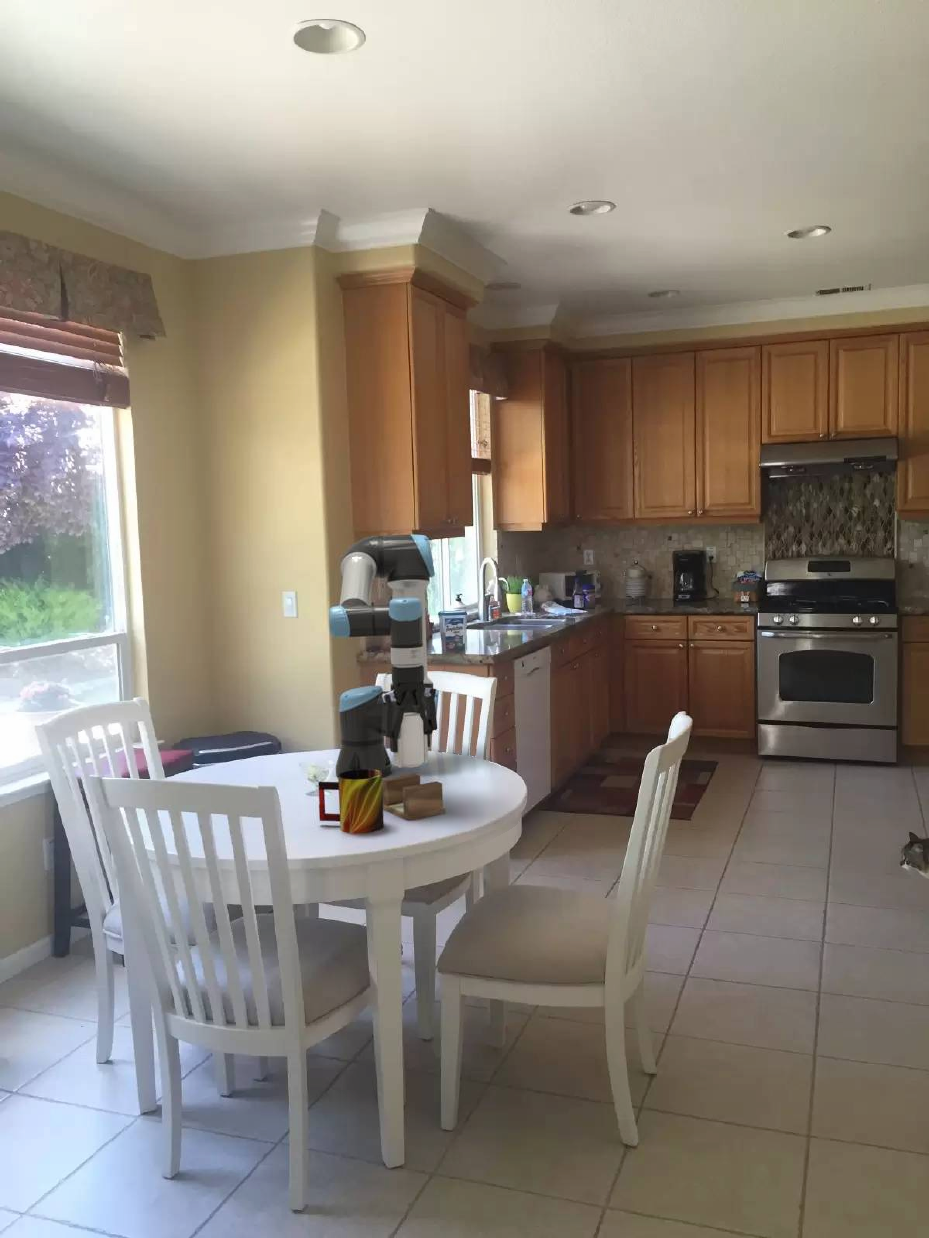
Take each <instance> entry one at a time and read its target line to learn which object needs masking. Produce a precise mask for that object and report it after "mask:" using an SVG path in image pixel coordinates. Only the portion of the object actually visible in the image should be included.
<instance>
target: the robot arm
mask: <svg viewBox="0 0 929 1238" xmlns="http://www.w3.org/2000/svg"><path fill="white" fill-rule="evenodd" d="M435 572H436V571H435V567H434V560H433V554H432V549H431V543H430V540H429V538H428V537H427V535H423V534H412V533H410V534H396V535H395V534H394V535H392V534H391V535H371V536H368V537H364V538H362V539H361V540H359V541H357V542H356V543H354V544H353V545H351V546H350V547H349V548H348V550H346V551H345V553H344V555H343V557H342V559H341V562H340V574H341V577H342V583H341V591H340V599H339V600H340V601H339V605H337V606H332V607H330V608H329V609H328V610H329V611H328V625H329V627H328V628H329V633H330V635H331V636H332V637H333V638H345V639H348V638H365V637H390V663H391V664H392V665H393V666H392V667H391V671H390V672H391V683H390V684H389V686H390V690H389V691H384V689H383V687H382V686H381V685H367V686H366V685H365V686H361V687H357V688H352V689H348V690H347V691H344V692H343V693H342V694H341V695H340V697H339V709H338V712H339V719H340V720H339V722H340V725H339V726H340V727H339V728H340V751H339V753H338V757H337V759H336V760H337V761H336V764H335V776H336V777H337V778H338V775H339V774H340V773H342V772H345V771H349V770H357V769H372V770H378V771H380V772H382V778H384V777H387V776H388V775H391V774H392V773H393V768H392V762H391V759H390V755H389V754H388V750H387V749H386V745H385V737H386V738H389V750H390V752H391V753H393V757H392V758H393V765H394V766H396V767H398V768H401V767H403V766H402V742H401V738H398V736H399V732H400V728H401V723H402V719H403V715H404V713H409V712H414V713H418V714H420V717H421V718H422V720H423V733H424V762H423V763H425V764H426V763H428V762H429V754H428V753H429V749H428V748H430V747H431V735H432V734H433V732H434V731H437V729H438V720H437V718H438V717H437V715H438V704H439V695H440V693H439V692H440V691H439V690H438V689H437V688H434V682H433V681H432V680H431V679H430V678H429V677H428V656H427V655H428V653H427V626H426V623H427V622H426V599H425V596H426V595H425V594H426V593H425V590H426V588H427V587H428V586H429V585H430V584H431V583H430V582H431V581H430V578H433V577H434V576H435V574H436V573H435ZM374 579H387V580H386V581H387V582H386V583H387V586H388V587H389V588H390V589H392V597H393V598H392V599H391V600H390V601H389V604H371V600H372V586H373V584H372V583H373V580H374Z"/></svg>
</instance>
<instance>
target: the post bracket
mask: <svg viewBox="0 0 929 1238" xmlns="http://www.w3.org/2000/svg"><path fill="white" fill-rule="evenodd" d="M382 793H383V811H385V812H388V813H390V814H392V815H394V816H397V817H399V818H401V819H403V820H405V821H413V820H418V819H419V820H420V819H422V818H423V819H424V818H427V817H433V816H437V815H442V814H446V808H445V807H444V800H443V799H444V797H443V783H442V782H439V781H431V782H426V783H421V774H418V773H409V774H403V775H398V776H393V777H392V776H391V777H386V778H382Z"/></svg>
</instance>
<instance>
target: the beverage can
mask: <svg viewBox="0 0 929 1238" xmlns="http://www.w3.org/2000/svg"><path fill="white" fill-rule="evenodd" d="M398 738H401V742H402V767H404V768H416V767H417V768H418V767H420V766H421V765H422V764H423V763H425V762H424V733H423V720H422V718H421V717H420V714H418V713H414V712H409V713H404V715H403V719H402V723H401V728H400V732H399V736H398Z"/></svg>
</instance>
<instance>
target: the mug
mask: <svg viewBox="0 0 929 1238" xmlns="http://www.w3.org/2000/svg"><path fill="white" fill-rule="evenodd" d="M337 779H338V781H319V782H317V783H318V801H319V802H318V811H319V812H318V814H319V815H318V816H319V822H339V827H340V828H339V829H340V831H341V832H343V833H346V834H353V835H354V834H355V835H358V834H359V835H360V834H361V835H362V834H370V833H374V832H377V831H381V830H382V829H384V826H385V825H384V823H385V822H384V810H383V793H382V779H383V777H382V772H380V771H378V770H372V769H357V770H349V771H345V772H342V773H340V774H339V775H338V777H337ZM325 791H338V804H339V806H338V807H339V813H327V812H326V800H325V799H326V798H325V797H326V796H325Z"/></svg>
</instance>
